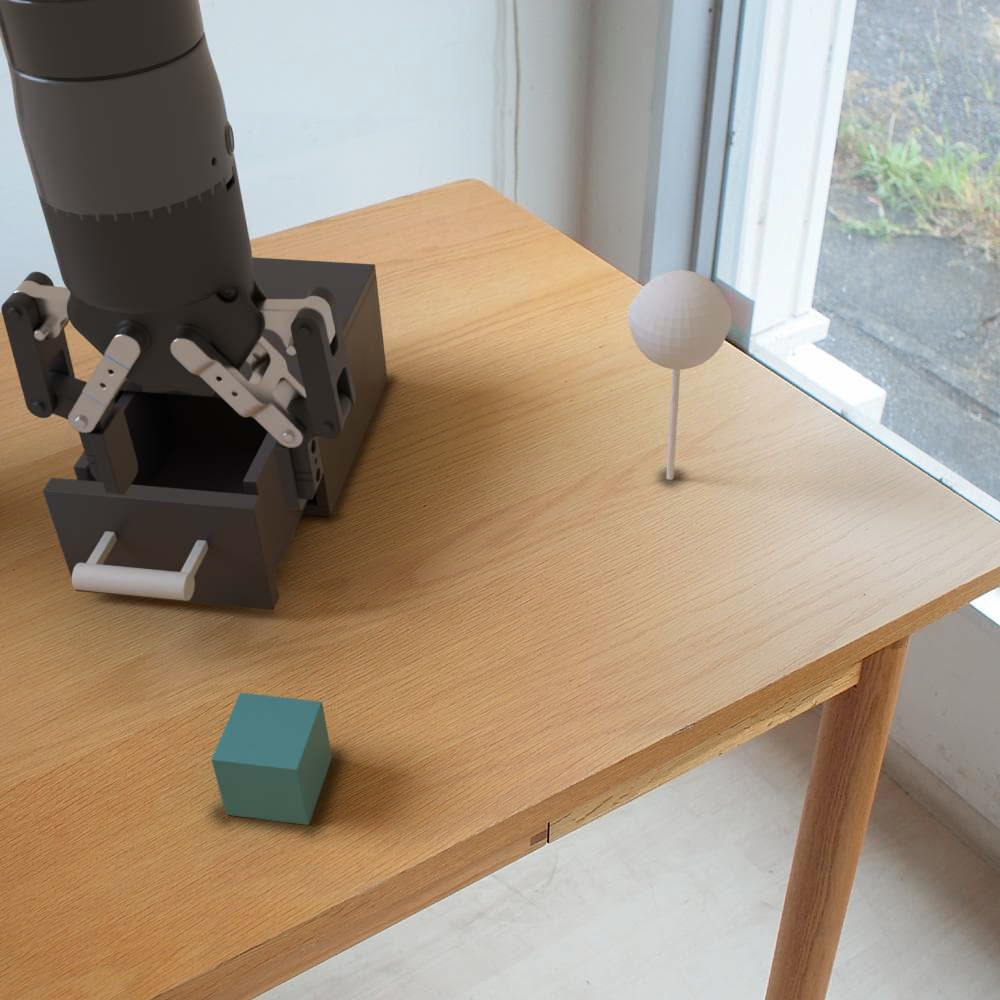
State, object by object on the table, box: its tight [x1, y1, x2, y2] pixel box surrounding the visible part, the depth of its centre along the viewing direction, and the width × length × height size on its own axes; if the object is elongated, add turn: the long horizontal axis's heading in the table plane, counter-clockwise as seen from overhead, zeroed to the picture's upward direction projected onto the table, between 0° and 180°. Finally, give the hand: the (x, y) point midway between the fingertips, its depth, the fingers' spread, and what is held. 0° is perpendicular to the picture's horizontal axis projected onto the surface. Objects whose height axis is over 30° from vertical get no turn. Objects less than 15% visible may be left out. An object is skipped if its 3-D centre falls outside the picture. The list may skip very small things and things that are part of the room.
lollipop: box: [627, 269, 733, 481], centre depth 82 cm, size 6×6×15 cm
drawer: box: [42, 391, 309, 612], centre depth 79 cm, size 19×12×8 cm, turn 170°
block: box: [210, 692, 333, 826], centre depth 67 cm, size 4×4×4 cm
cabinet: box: [112, 256, 388, 517], centre depth 89 cm, size 16×14×10 cm
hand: (211, 491), depth 61 cm, fingers open, 8 cm apart
